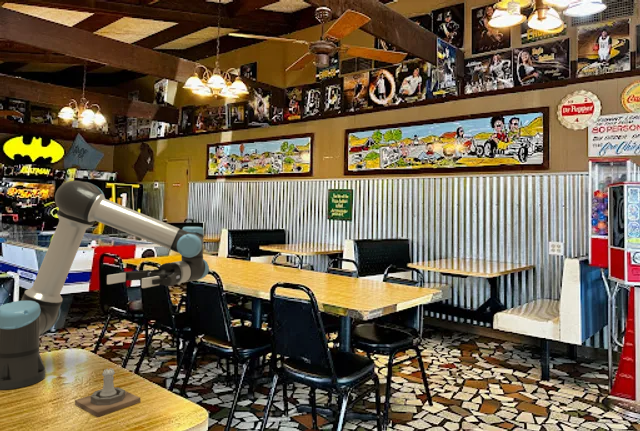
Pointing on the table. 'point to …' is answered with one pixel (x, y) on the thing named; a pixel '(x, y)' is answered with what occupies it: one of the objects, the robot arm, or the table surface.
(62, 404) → the table surface
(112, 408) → the socket board
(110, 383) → the rook chess piece
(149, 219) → the robot arm
